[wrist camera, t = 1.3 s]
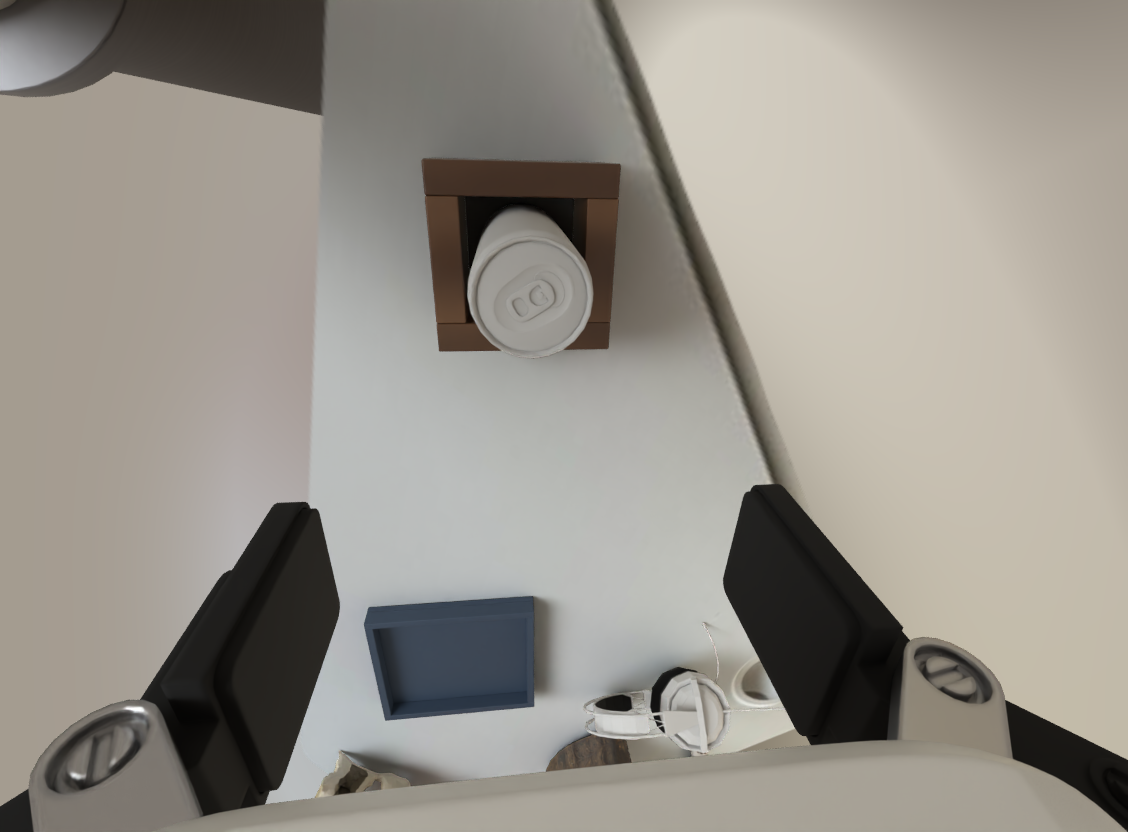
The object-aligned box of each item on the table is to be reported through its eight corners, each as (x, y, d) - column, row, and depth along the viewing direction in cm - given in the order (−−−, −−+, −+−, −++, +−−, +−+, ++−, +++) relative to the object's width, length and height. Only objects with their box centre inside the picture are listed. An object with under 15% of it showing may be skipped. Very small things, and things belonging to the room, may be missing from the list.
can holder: (433, 157, 27) (420, 158, 22) (601, 162, 28) (621, 163, 23) (447, 323, 31) (439, 352, 26) (593, 322, 32) (608, 349, 27)
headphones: (777, 684, 51) (580, 704, 50) (793, 612, 46) (577, 632, 45) (821, 771, 43) (590, 797, 42) (845, 695, 39) (588, 722, 38)
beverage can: (576, 262, 30) (618, 321, 19) (507, 303, 31) (512, 383, 20) (534, 184, 28) (556, 204, 17) (461, 231, 28) (438, 278, 18)
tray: (368, 607, 41) (363, 624, 39) (532, 596, 42) (534, 612, 41) (388, 702, 46) (385, 720, 45) (533, 689, 48) (534, 706, 46)
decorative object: (243, 793, 44) (296, 763, 53) (262, 977, 39) (317, 909, 49) (389, 733, 46) (416, 715, 55) (423, 902, 41) (446, 851, 50)
